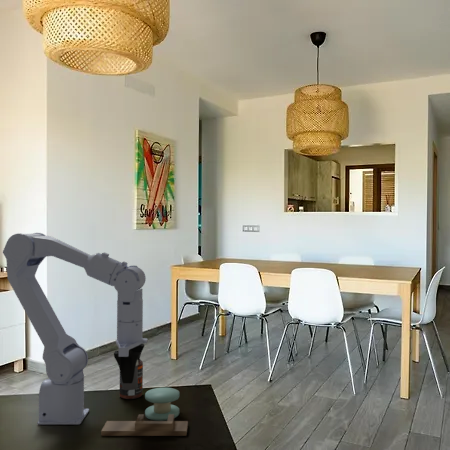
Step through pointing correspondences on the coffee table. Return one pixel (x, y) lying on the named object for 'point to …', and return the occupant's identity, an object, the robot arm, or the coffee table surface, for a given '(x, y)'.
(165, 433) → the board
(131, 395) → the supplement bottle
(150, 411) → the disc
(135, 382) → the plug
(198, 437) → the coffee table surface
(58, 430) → the coffee table surface
